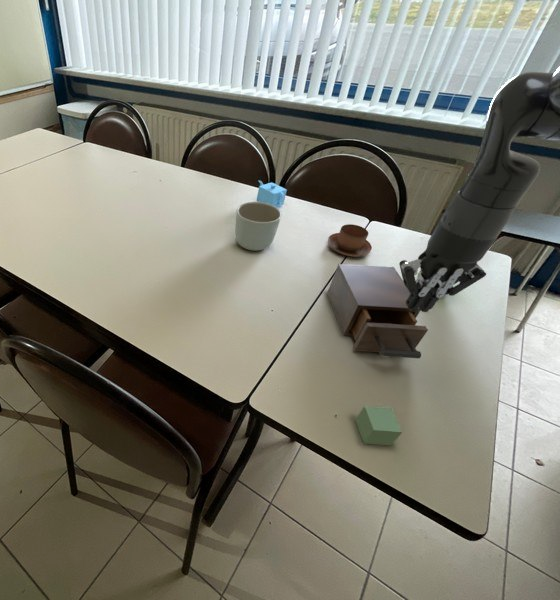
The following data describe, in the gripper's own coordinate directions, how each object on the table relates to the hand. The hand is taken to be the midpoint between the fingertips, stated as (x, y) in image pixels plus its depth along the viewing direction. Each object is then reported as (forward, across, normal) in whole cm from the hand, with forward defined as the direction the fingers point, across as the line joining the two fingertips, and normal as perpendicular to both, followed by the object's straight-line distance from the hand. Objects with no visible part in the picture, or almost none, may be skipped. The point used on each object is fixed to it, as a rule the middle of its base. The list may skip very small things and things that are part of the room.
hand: (416, 308), depth 67 cm
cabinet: (+15, 0, +14) cm, 21 cm away
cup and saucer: (+15, +5, +43) cm, 46 cm away
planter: (+15, -23, +43) cm, 51 cm away
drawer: (+14, 0, +6) cm, 15 cm away
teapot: (+15, -15, +70) cm, 73 cm away
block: (+15, -8, -17) cm, 24 cm away
